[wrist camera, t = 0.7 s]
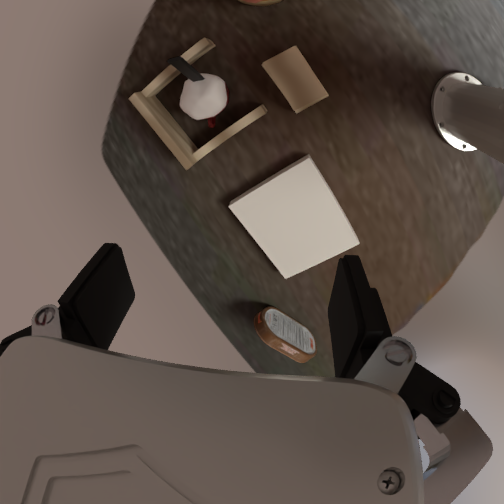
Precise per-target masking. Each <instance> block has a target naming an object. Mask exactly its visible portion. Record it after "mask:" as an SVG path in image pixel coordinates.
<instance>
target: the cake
mask: <svg viewBox="0 0 504 504" xmlns="http://www.w3.org/2000/svg"><path fill="white" fill-rule="evenodd" d="M238 1H240V2H242V3H243V4H248V5H252V6H269V5H273V4H277V3H279V2H281V1H283V0H238Z"/></svg>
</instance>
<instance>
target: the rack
mask: <svg viewBox="0 0 504 504" xmlns="http://www.w3.org/2000/svg"><path fill="white" fill-rule="evenodd" d="M213 47H215V44H214V43H213V42H212V41H211V40H210V39H207V38H205V37H204V38H203V39H201V40H200V41H199V42H197V43H196V44H195V45H194V46H192V47H191V48H190V49H189V50H187V51H186V52H185V53H184V54H182V55H181V57H182V58H183V59H185V60H186V61H187V62H188V63H189V64H190V65H191V64H192V63H194V62H195V61H196V60H197V59H199V58H200V57H201V56H203V55H204V54H205V53H207V52H208V51H209V50H211V49H212V48H213ZM180 73H181V72H180V71H179V70H177V69H176V68H175V67H173V66H172V65H169V66H168V67H167V68H166V69H165V70H164V71H163V72H162V73H160V74H159V75H158V76H157V77H156V78H155V79H154V80H153V81H152V82H151V83H150V84H149V85H148V86H147V87H145V88H144V89H143V90H142V91H141V92H137V93H134V94H133V95H132V96H131V97H130V98H129V100H130V101H131V102H132V104H133V105H134V106H135V107H136V109H137V110H138V111H139V112H140V114H141V115H142V116H143V117H144V118H145V120H146V121H147V122H148V123H149V125H150V126H151V127H152V128H153V130H154V131H155V132H156V133H157V134H158V136H159V137H160V138H161V139H162V141H163V142H164V143H165V144H166V146H167V147H168V148H169V149H170V150H171V152H172V153H173V154H174V155H175V157H176V158H177V159H178V160H179V162H180V163H181V164H182V165H183V167H184V168H185V169H186V170H187V169H189V168H190V167H191V166H193V165H194V164H195V163H196V162H197V161H198V160H200V159H201V158H202V157H204V156H205V155H206V154H208V153H209V152H210V151H212V150H213V149H214V148H216V147H217V146H218V145H220V144H221V143H223V142H224V141H225V140H227V139H228V138H230V137H231V136H233V135H234V134H235V133H237V132H238V131H240V130H241V129H243V128H244V127H246V126H247V125H249V124H250V123H252V122H253V121H255V120H256V119H258V118H259V117H261V116H262V115H264V114H266V113H267V109H266V108H265V107H264V105H263V104H262V105H261V106H259V107H258V108H256V109H255V110H253V111H252V112H250V113H249V114H247V115H246V116H244V117H243V118H241V119H240V120H238V121H237V122H235V123H234V124H233V125H231V126H230V127H228V128H227V129H225V130H224V131H223V132H221V133H220V134H219V135H217V136H216V137H214V138H213V139H212V140H210V141H209V142H208V143H206V144H205V145H204V146H202V147H201V148H200V149H198V148H197V147H196V146H195V144H194V143H193V142H192V141H191V139H190V138H189V137H188V136H187V134H186V133H185V132H184V131H183V129H182V128H181V127H180V126H179V124H178V123H177V122H176V121H175V119H174V118H173V117H172V116H171V115H170V113H169V112H168V111H167V110H166V108H165V107H164V106H163V105H162V104H161V102H160V101H159V100H158V99H157V97H156V96H155V95H156V94H158V93H159V92H160V91H161V90H162V89H163V88H164V87H165V86H166V85H167V84H169V83H170V82H171V81H172V80H173V79H174V78H175V77H177V76H178V75H179V74H180Z"/></svg>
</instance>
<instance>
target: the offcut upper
mask: <svg viewBox="0 0 504 504" xmlns="http://www.w3.org/2000/svg"><path fill="white" fill-rule="evenodd" d="M263 64H264V66H265V67H266V69H267V70H268V72H269V73H270V74H271V76H272V77H273V79H274V80H275V82H276V83H277V85H278V86H279V88H280V90H281V91H282V93H283V94H284V96H285V97H286V99H287V100H288V102H289V104H290V105H291V107H292V108H293V110H294V111H295V110H297V109H299V108H301V107H303V106H305V105H307V104H309V103H311V102H313V101H315V100H317V99H319V98H321V97H323V96H325V95H327V94H326V92H325V90H324V89H323V87H322V85H321V84H320V82H319V80H318V79H317V77H316V75H315V74H314V72H313V71H312V69H311V68H310V66H309V64H308V63H307V61H306V60H305V58H304V57H303V55H302V54H301V52H300V51H299V49H298V48H297V47H296V46H294V47H292V48H290V49H288V50H286V51H284V52H282V53H280V54H278V55H276V56H274V57H272V58H270V59H269V60H267V61H265V62H263Z"/></svg>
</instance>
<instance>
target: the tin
mask: <svg viewBox="0 0 504 504" xmlns="http://www.w3.org/2000/svg"><path fill="white" fill-rule="evenodd" d="M254 327H255V330H256V332H257V334H258V335H259V337H260V338H261V339H262V340H263V341H264V342H265V343H266V344H267V345H269V346H270V347H272V348H274V349H276V350H277V351H279V352H281V353H283V354H285V355H286V356H288V357H290V358H292V359H294V360H295V361H297V362H300V363H304V362H307V361H308V360H309V359H311V358H312V357H314V356H315V355H316V353H317V346H316V340H315V338H314V336H313V335H312V333H311V332H310V331H309V330H308V328H306V327H305V326H304V325H302V324H301V323H299V322H298V321H296V320H294V319H293V318H291V317H290V316H288V315H287V314H285V313H284V312H282V311H281V310H279V309H277V308H275V307H266V308H264V309H263V310H262V311H260V312H259V313H257V314H256V315H255V317H254Z"/></svg>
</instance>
